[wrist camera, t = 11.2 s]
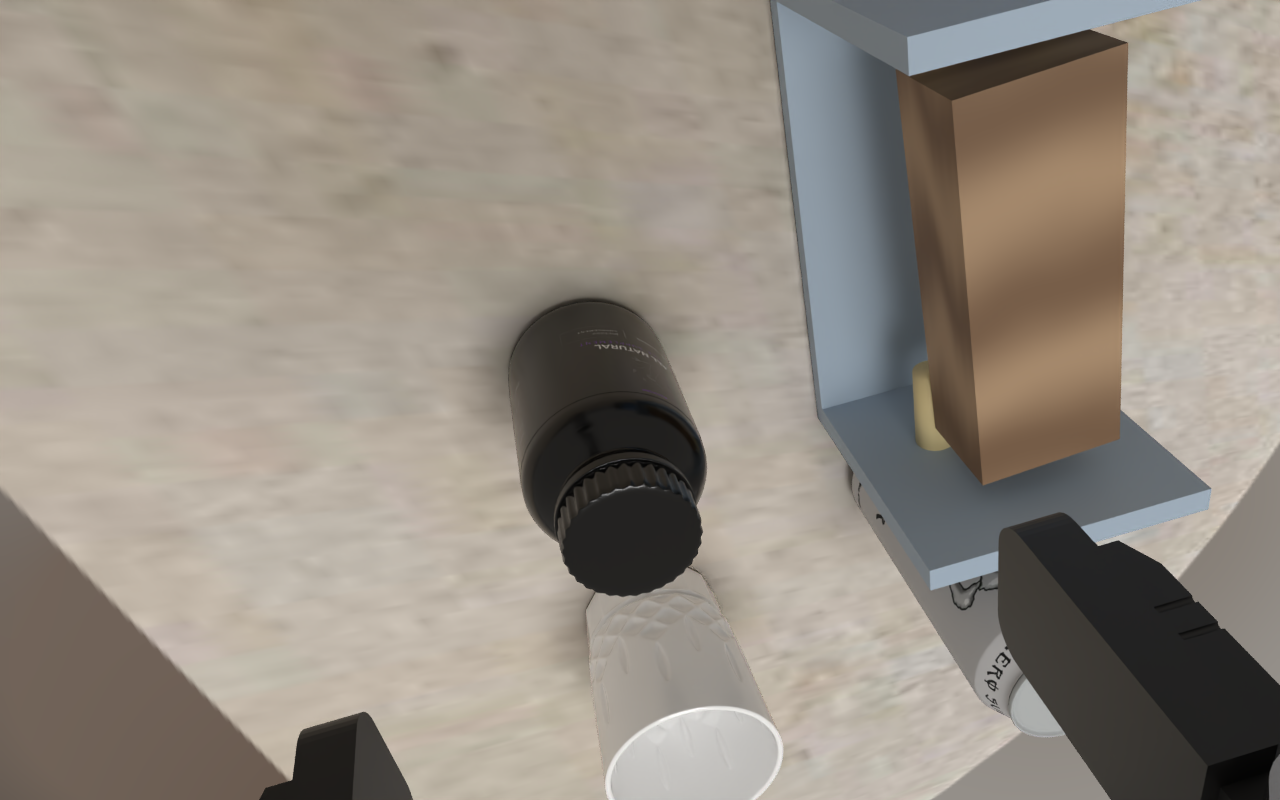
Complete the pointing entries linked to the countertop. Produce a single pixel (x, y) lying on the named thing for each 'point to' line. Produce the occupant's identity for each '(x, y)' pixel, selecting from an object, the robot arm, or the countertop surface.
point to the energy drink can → (969, 632)
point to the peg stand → (890, 292)
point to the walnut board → (1021, 247)
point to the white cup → (677, 698)
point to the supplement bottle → (607, 448)
